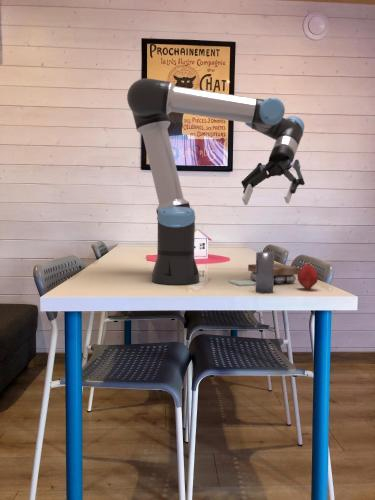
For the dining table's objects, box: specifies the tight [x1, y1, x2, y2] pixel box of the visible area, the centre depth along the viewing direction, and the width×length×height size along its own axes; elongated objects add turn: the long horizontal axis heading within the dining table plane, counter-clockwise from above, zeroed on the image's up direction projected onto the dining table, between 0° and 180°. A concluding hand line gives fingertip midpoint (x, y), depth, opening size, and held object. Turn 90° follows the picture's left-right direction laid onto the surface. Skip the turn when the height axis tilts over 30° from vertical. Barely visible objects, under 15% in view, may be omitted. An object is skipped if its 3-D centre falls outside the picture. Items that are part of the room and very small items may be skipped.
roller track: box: [250, 272, 296, 285], centre depth 146 cm, size 11×9×3 cm
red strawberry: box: [297, 262, 319, 291], centre depth 133 cm, size 6×6×8 cm
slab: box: [247, 262, 300, 276], centre depth 146 cm, size 11×12×2 cm
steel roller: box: [254, 251, 275, 294], centre depth 128 cm, size 5×5×11 cm
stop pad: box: [228, 279, 256, 287], centre depth 142 cm, size 7×7×1 cm
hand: (264, 201), depth 137 cm, fingers open, 13 cm apart
